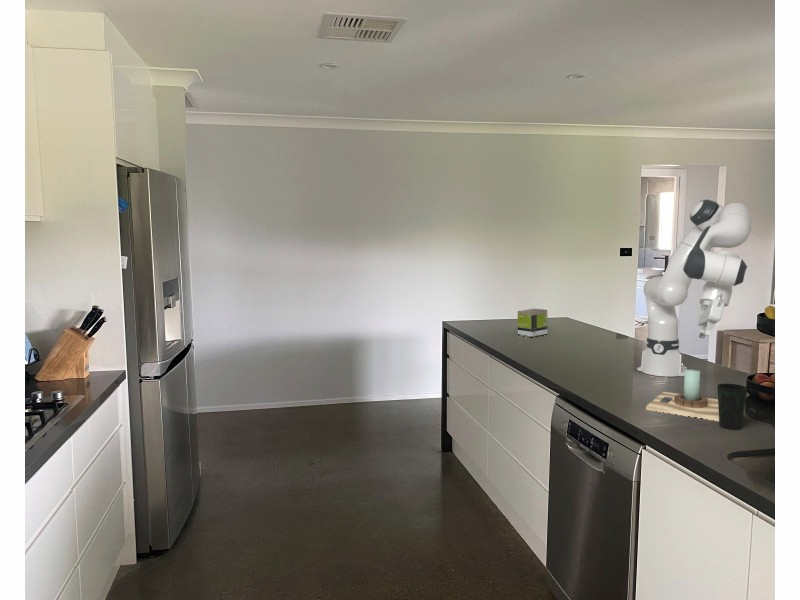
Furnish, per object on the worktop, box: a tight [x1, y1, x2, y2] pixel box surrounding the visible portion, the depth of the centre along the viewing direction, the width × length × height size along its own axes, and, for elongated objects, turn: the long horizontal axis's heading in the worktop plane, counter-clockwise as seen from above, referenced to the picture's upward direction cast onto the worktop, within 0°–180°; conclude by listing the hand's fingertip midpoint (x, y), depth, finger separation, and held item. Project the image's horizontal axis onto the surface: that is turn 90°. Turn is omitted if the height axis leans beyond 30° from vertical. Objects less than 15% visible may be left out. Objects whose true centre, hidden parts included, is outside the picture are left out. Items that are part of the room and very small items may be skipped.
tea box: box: [517, 308, 549, 336], centre depth 335 cm, size 15×10×15 cm, turn 130°
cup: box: [716, 383, 748, 431], centre depth 173 cm, size 8×8×12 cm
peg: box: [683, 368, 701, 401], centre depth 193 cm, size 4×4×11 cm
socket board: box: [645, 391, 719, 422], centre depth 193 cm, size 22×22×3 cm
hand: (704, 336), depth 203 cm, fingers open, 8 cm apart
